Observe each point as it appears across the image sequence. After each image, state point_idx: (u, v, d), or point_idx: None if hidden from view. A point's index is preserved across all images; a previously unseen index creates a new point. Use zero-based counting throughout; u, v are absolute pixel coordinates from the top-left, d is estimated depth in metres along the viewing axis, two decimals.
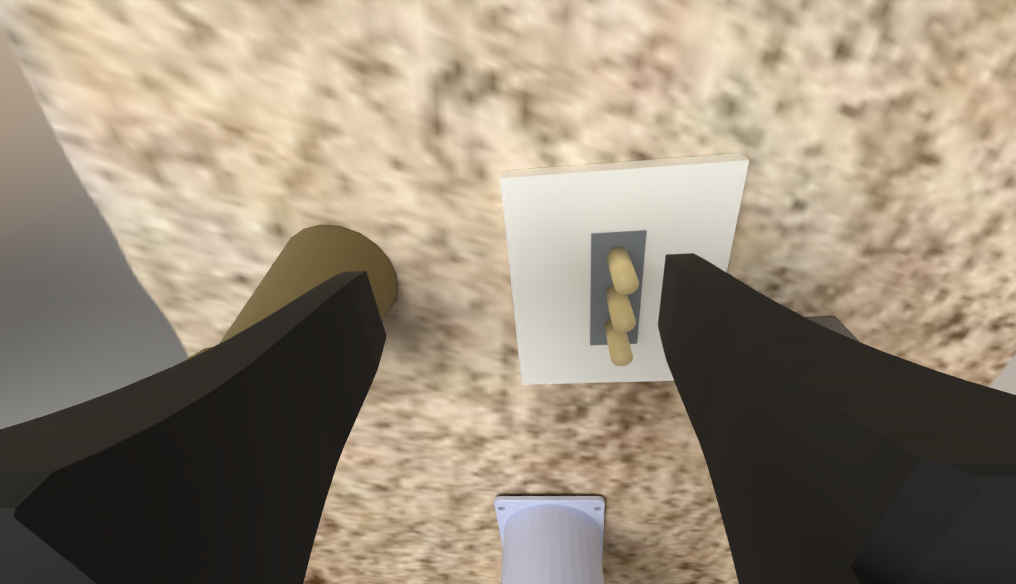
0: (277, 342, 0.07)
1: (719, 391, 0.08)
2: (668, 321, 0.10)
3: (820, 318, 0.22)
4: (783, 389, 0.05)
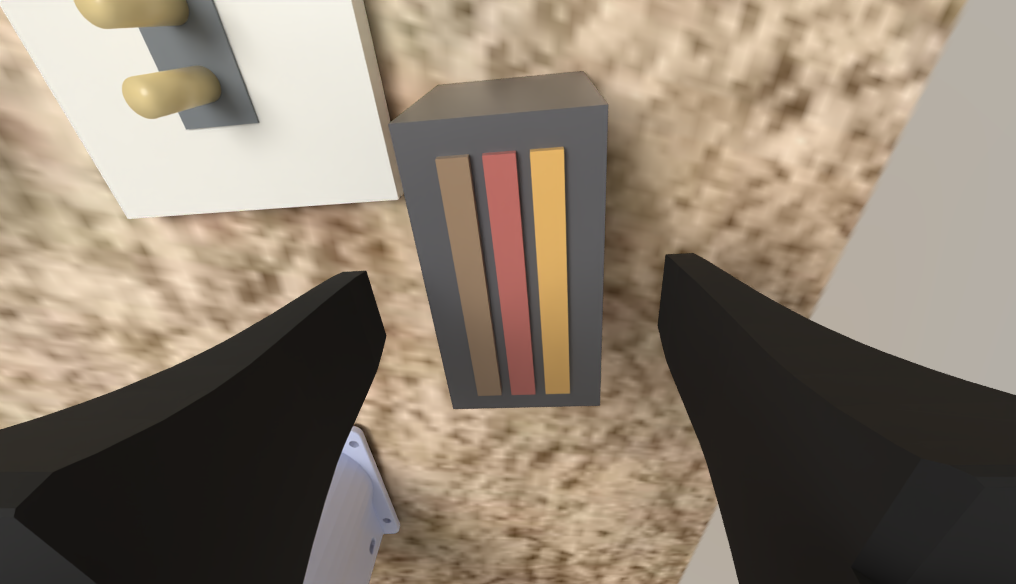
0: (277, 342, 0.07)
1: (719, 391, 0.08)
2: (668, 321, 0.10)
3: (558, 74, 0.13)
4: (783, 389, 0.05)
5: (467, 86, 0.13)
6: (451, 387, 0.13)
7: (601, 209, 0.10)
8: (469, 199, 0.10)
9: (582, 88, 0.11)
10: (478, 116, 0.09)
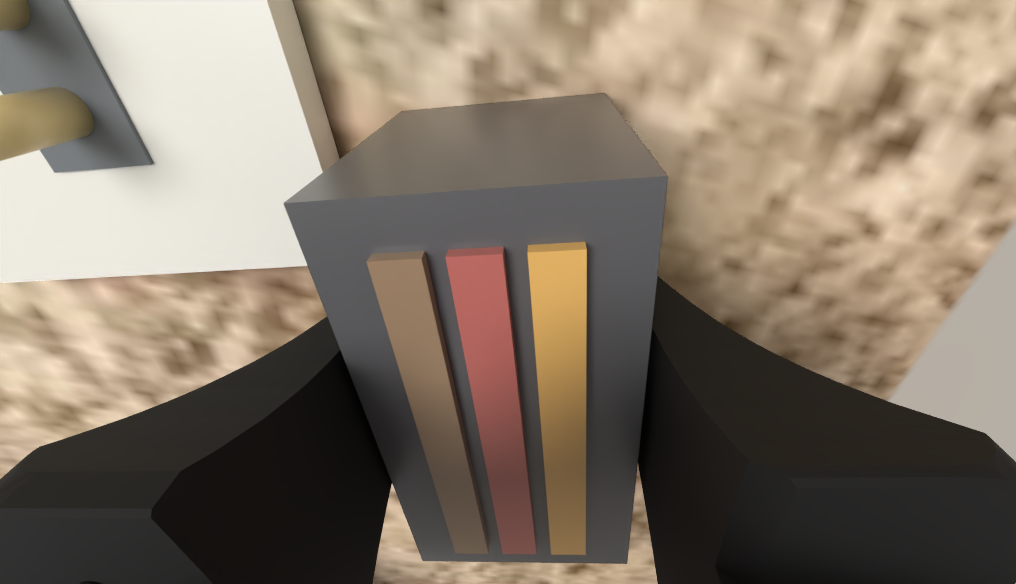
0: None
1: None
2: None
3: (569, 97, 0.09)
4: (676, 392, 0.06)
5: (440, 116, 0.09)
6: (418, 538, 0.09)
7: (644, 333, 0.06)
8: (428, 318, 0.06)
9: (611, 130, 0.07)
10: (438, 193, 0.05)
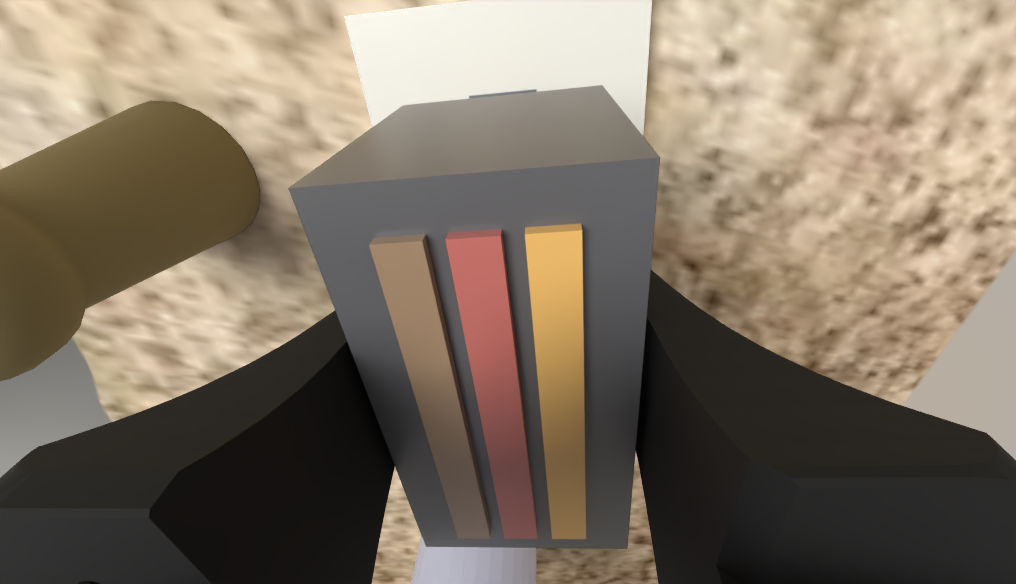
0: None
1: (643, 393, 0.08)
2: None
3: (567, 90, 0.10)
4: (677, 392, 0.06)
5: (440, 109, 0.09)
6: (421, 524, 0.10)
7: (640, 314, 0.06)
8: (429, 301, 0.06)
9: (607, 118, 0.07)
10: (437, 176, 0.05)
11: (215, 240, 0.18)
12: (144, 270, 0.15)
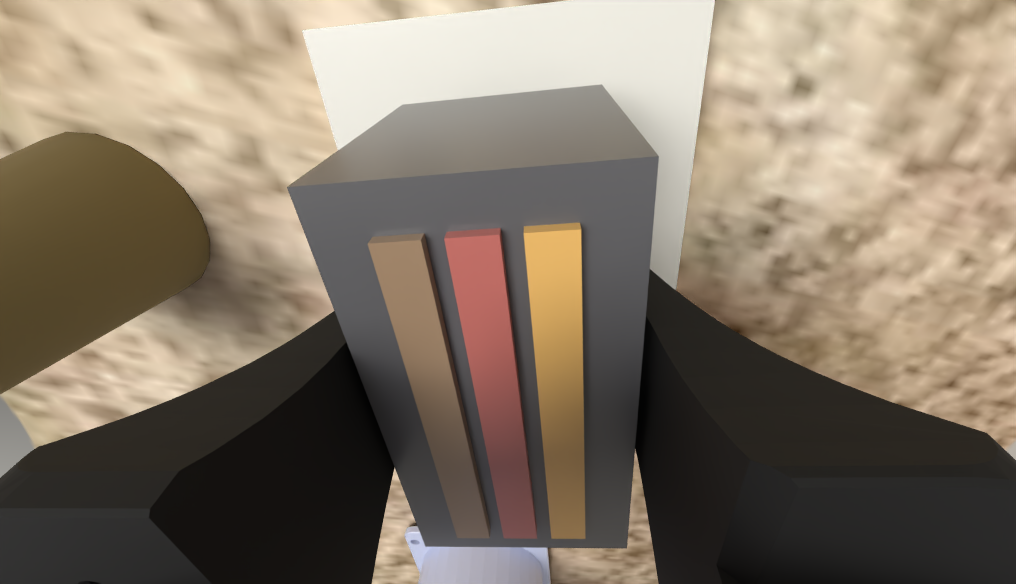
0: None
1: (643, 393, 0.08)
2: None
3: (566, 89, 0.10)
4: (677, 391, 0.06)
5: (439, 108, 0.09)
6: (421, 523, 0.10)
7: (639, 313, 0.06)
8: (428, 300, 0.06)
9: (606, 117, 0.07)
10: (436, 175, 0.05)
11: (150, 305, 0.15)
12: (39, 362, 0.11)
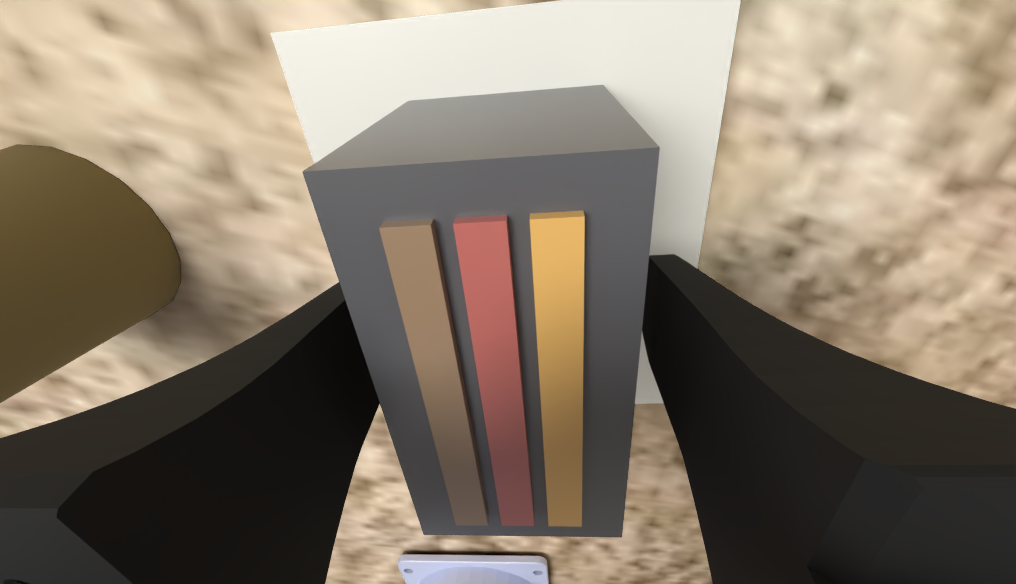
0: (300, 341, 0.07)
1: (694, 392, 0.08)
2: (650, 322, 0.10)
3: (569, 88, 0.10)
4: (748, 390, 0.05)
5: (446, 104, 0.09)
6: (420, 511, 0.10)
7: (638, 300, 0.06)
8: (435, 284, 0.06)
9: (608, 113, 0.07)
10: (447, 162, 0.06)
11: (112, 333, 0.13)
12: None
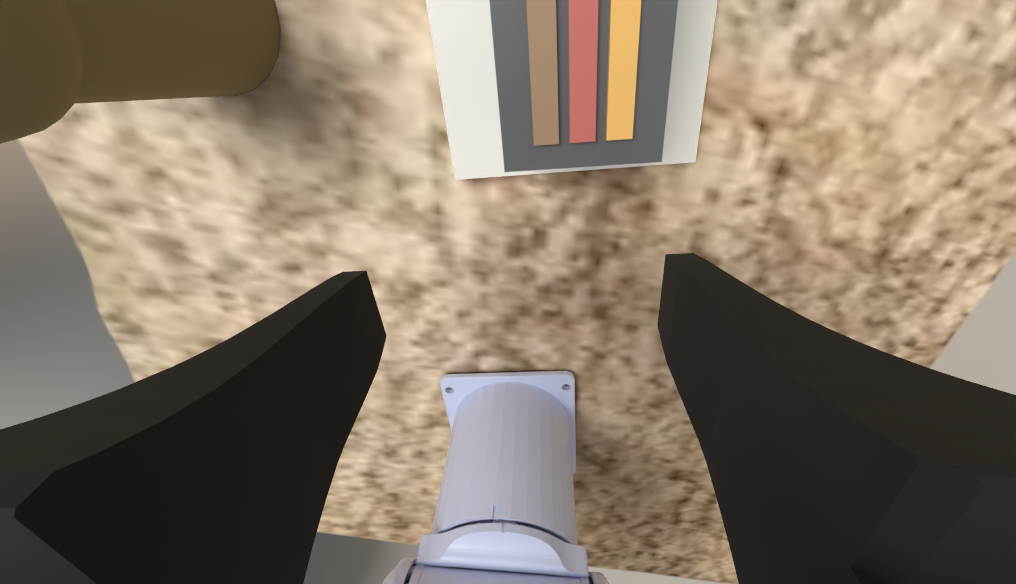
0: (277, 342, 0.07)
1: (719, 391, 0.08)
2: (668, 321, 0.10)
3: None
4: (783, 389, 0.05)
5: None
6: (504, 140, 0.12)
7: None
8: None
9: None
10: None
11: (231, 75, 0.16)
12: (152, 70, 0.13)
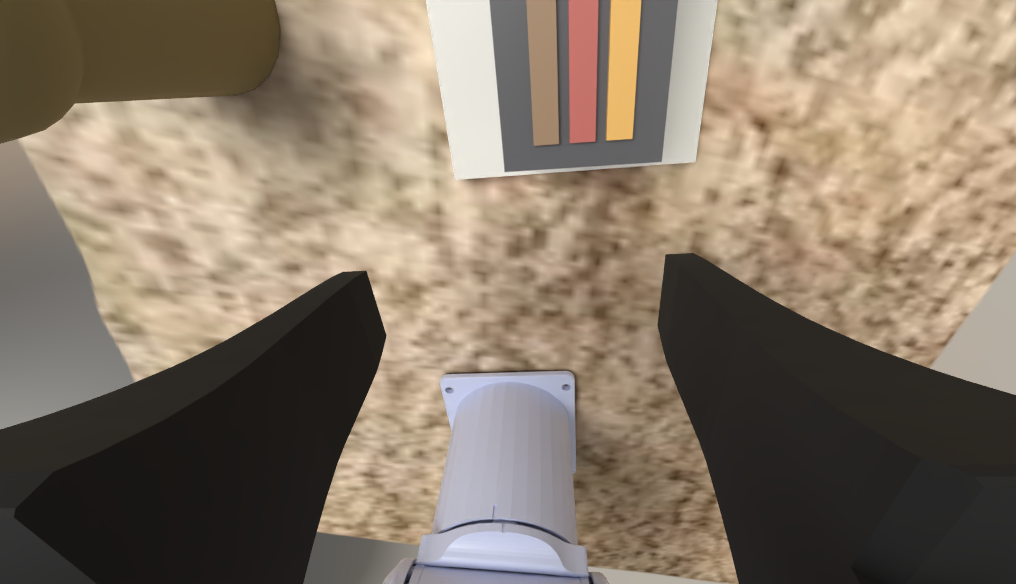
0: (277, 342, 0.07)
1: (719, 391, 0.08)
2: (668, 321, 0.10)
3: None
4: (783, 389, 0.05)
5: None
6: (504, 140, 0.12)
7: None
8: None
9: None
10: None
11: (231, 75, 0.16)
12: (152, 70, 0.13)
